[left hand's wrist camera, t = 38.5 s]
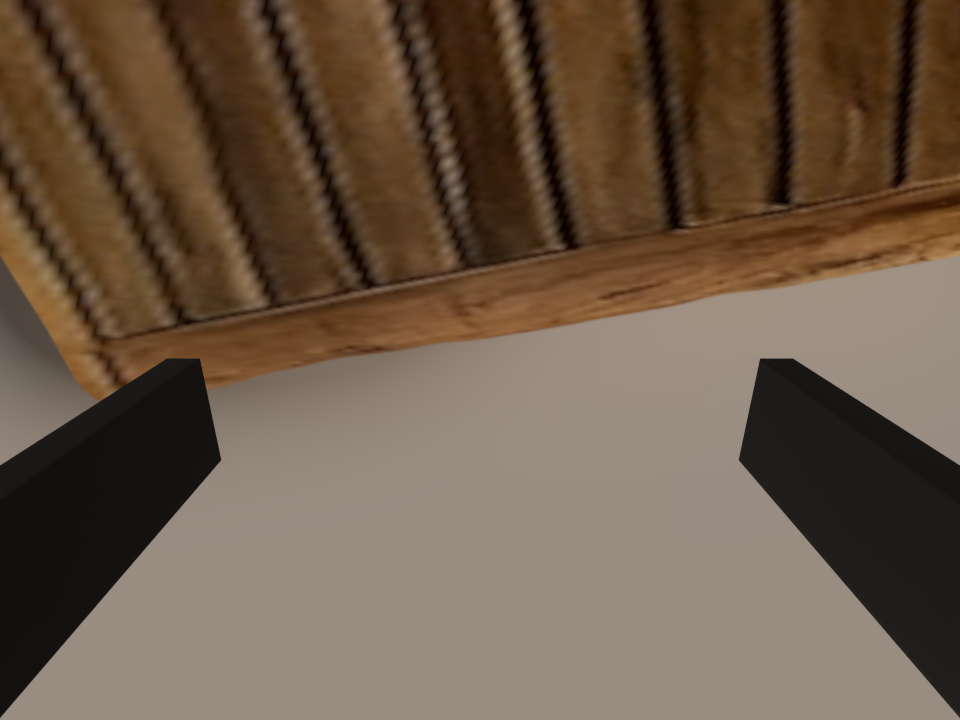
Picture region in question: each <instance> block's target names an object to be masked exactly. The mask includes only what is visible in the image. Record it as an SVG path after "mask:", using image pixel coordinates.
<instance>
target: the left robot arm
mask: <svg viewBox="0 0 960 720" xmlns="http://www.w3.org/2000/svg"><path fill="white" fill-rule="evenodd" d="M220 461H221V457H220V452H219V447H218V442H217V438H216V433H215V428H214V424H213V419H212V414H211V409H210V405H209V400H208V395H207V390H206V386H205V381H204V376H203V371H202V367H201V362H200V359H166V360H164V361H163V362H161V363H159V364H158V365H156V366H155V367H153V368H152V369H150V370H149V371H147V372H145V373H144V374H142V375H141V376H139V377H138V378H136V379H134V380H133V381H131V382H130V383H128V384H127V385H125V386H124V387H122V388H120V389H119V390H117V391H116V392H114V393H113V394H111V395H110V396H108V397H106V398H105V399H103V400H102V401H100V402H99V403H97V404H95V405H94V406H92V407H91V408H89V409H88V410H86V411H85V412H83V413H81V414H80V415H78V416H77V417H75V418H74V419H72V420H70V421H69V422H67V423H66V424H64V425H63V426H61V427H60V428H58V429H56V430H55V431H53V432H52V433H50V434H49V435H47V436H45V437H44V438H42V439H41V440H39V441H38V442H36V443H35V444H33V445H31V446H30V447H28V448H27V449H25V450H24V451H22V452H20V453H19V454H17V455H16V456H14V457H13V458H11V459H10V460H8V461H6V462H5V463H3V464H2V465H0V717H1V716H2V715H3V714H4V713H5V712H6V710H7V709H8V708H9V707H10V706H11V705H12V703H13V702H14V701H15V700H16V699H17V697H18V696H19V695H20V694H21V693H22V692H23V691H24V689H25V688H26V687H27V686H28V685H29V684H30V682H31V681H32V680H33V679H34V678H35V676H36V675H37V674H38V673H39V672H40V671H41V670H42V668H43V667H44V666H45V665H46V664H47V663H48V661H49V660H50V659H51V658H52V657H53V656H54V654H55V653H56V652H57V651H58V650H59V649H60V647H61V646H62V645H63V644H64V643H65V642H66V640H67V639H68V638H69V637H70V636H71V635H72V633H73V632H74V631H75V630H76V629H77V628H78V626H79V625H80V624H81V623H82V622H83V620H84V619H85V618H86V617H87V616H88V615H89V614H90V612H91V611H92V610H93V609H94V608H95V607H96V605H97V604H98V603H99V602H100V601H101V600H102V598H103V597H104V596H105V595H106V594H107V593H108V591H109V590H110V589H111V588H112V587H113V586H114V584H115V583H116V582H117V581H118V580H119V579H120V577H121V576H122V575H123V574H124V573H125V572H126V570H127V569H128V568H129V567H130V566H131V565H132V563H133V562H134V561H135V560H136V559H137V558H138V556H139V555H140V554H141V553H142V552H143V551H144V549H145V548H146V547H147V546H148V545H149V544H150V542H151V541H152V540H153V539H154V538H155V537H156V535H157V534H158V533H159V532H160V531H161V530H162V528H163V527H164V526H165V525H166V524H167V523H168V521H169V520H170V519H171V518H172V517H173V516H174V514H175V513H176V512H177V511H178V510H179V509H180V507H181V506H182V505H183V504H184V503H185V502H186V500H187V499H188V498H189V497H190V496H191V495H192V494H193V492H194V491H195V490H196V489H197V488H198V486H199V485H200V484H201V483H202V482H203V481H204V479H205V478H206V477H207V476H208V475H209V474H210V472H211V471H212V470H213V469H214V468H215V467H216V465H217V464H218V463H219V462H220ZM739 461H740V462H741V463H742V464H743V465H744V467H745V468H746V469H747V470H748V471H749V473H750V474H751V475H752V476H753V477H754V478H755V480H756V481H757V482H758V483H759V484H760V485H761V486H762V488H763V489H764V490H765V491H766V492H767V493H768V495H769V496H770V497H771V498H772V499H773V500H774V502H775V503H776V504H777V505H778V506H779V507H780V509H781V510H782V511H783V512H784V513H785V514H786V516H787V517H788V518H789V519H790V520H791V521H792V523H793V524H794V525H795V526H796V527H797V528H798V530H799V531H800V532H801V533H802V534H803V535H804V537H805V538H806V539H807V540H808V541H809V542H810V544H811V545H812V546H813V547H814V548H815V549H816V551H817V552H818V553H819V554H820V555H821V556H822V558H823V559H824V560H825V561H826V562H827V563H828V565H829V566H830V567H831V568H832V569H833V570H834V572H835V573H836V574H837V575H838V576H839V577H840V579H841V580H842V581H843V582H844V583H845V584H846V586H847V587H848V588H849V589H850V590H851V591H852V593H853V594H854V595H855V596H856V597H857V598H858V600H859V601H860V602H861V603H862V604H863V605H864V607H865V608H866V609H867V610H868V611H869V612H870V614H871V615H872V616H873V617H874V618H875V619H876V621H877V622H878V623H879V624H880V625H881V626H882V628H883V629H884V630H885V631H886V632H887V633H888V635H889V636H890V637H891V638H892V639H893V640H894V642H895V643H896V644H897V645H898V646H899V647H900V649H901V650H902V651H903V652H904V653H905V654H906V656H907V657H908V658H909V659H910V660H911V661H912V663H913V664H914V665H915V666H916V667H917V668H918V670H919V671H920V672H921V673H922V674H923V675H924V676H925V678H926V679H927V680H928V681H929V682H930V684H931V685H932V686H933V687H934V688H935V689H936V691H937V692H938V693H939V694H940V695H941V696H942V698H943V699H944V700H945V701H946V702H947V703H948V705H949V706H950V707H951V708H952V709H953V710H954V711H955V713H956V714H957V715H958V716H959V717H960V465H958V464H957V463H955V462H954V461H952V460H950V459H949V458H947V457H946V456H944V455H943V454H941V453H940V452H938V451H936V450H935V449H933V448H932V447H930V446H929V445H927V444H925V443H924V442H922V441H921V440H919V439H918V438H916V437H915V436H913V435H911V434H910V433H908V432H907V431H905V430H904V429H902V428H900V427H899V426H897V425H896V424H894V423H893V422H891V421H890V420H888V419H886V418H885V417H883V416H882V415H880V414H879V413H877V412H875V411H874V410H872V409H871V408H869V407H868V406H866V405H864V404H863V403H861V402H860V401H858V400H857V399H855V398H854V397H852V396H850V395H849V394H847V393H846V392H844V391H843V390H841V389H840V388H838V387H836V386H835V385H833V384H832V383H830V382H829V381H827V380H825V379H824V378H822V377H821V376H819V375H818V374H816V373H815V372H813V371H811V370H810V369H808V368H807V367H805V366H804V365H802V364H800V363H799V362H797V361H796V360H794V359H760V362H759V367H758V371H757V376H756V381H755V386H754V390H753V395H752V400H751V405H750V409H749V414H748V419H747V424H746V428H745V433H744V438H743V442H742V447H741V452H740V457H739Z"/></svg>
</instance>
